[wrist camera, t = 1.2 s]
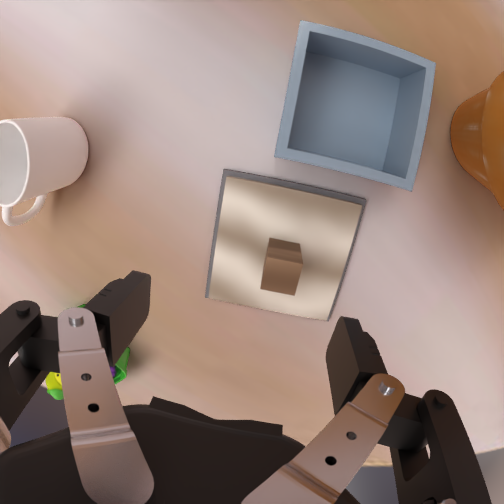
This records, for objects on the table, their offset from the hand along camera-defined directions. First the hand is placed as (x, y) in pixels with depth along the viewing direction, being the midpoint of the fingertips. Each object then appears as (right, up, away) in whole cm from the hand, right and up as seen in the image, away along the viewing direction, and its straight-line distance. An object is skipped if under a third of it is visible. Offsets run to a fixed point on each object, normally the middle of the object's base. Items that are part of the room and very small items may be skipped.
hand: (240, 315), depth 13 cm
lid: (+3, +3, +19) cm, 19 cm away
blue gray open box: (+9, +16, +14) cm, 23 cm away
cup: (-22, +13, +18) cm, 31 cm away
